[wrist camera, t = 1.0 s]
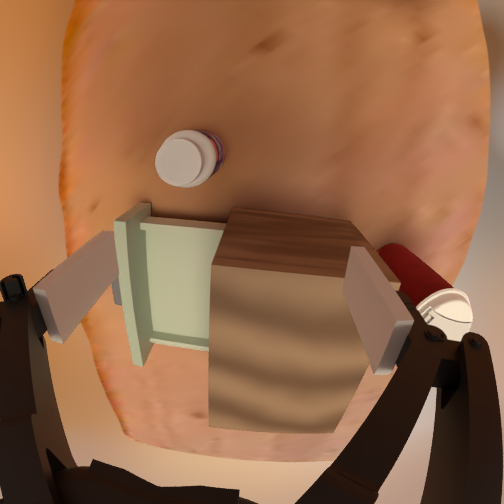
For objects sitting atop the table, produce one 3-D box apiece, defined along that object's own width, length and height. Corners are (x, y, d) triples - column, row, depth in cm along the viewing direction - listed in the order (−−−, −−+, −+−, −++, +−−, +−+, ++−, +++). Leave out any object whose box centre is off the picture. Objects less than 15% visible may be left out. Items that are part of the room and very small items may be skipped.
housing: (232, 207, 34) (211, 264, 20) (350, 221, 34) (400, 282, 20) (223, 342, 42) (208, 426, 28) (317, 350, 42) (333, 432, 28)
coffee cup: (349, 272, 37) (388, 350, 23) (389, 222, 34) (452, 280, 20) (390, 301, 38) (433, 375, 24) (427, 256, 35) (488, 318, 21)
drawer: (122, 201, 33) (93, 219, 27) (255, 212, 34) (252, 234, 27) (134, 329, 41) (117, 361, 35) (241, 345, 41) (237, 381, 35)
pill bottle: (235, 153, 31) (224, 162, 22) (202, 186, 33) (179, 208, 24) (201, 119, 30) (177, 116, 21) (169, 153, 32) (134, 164, 23)
